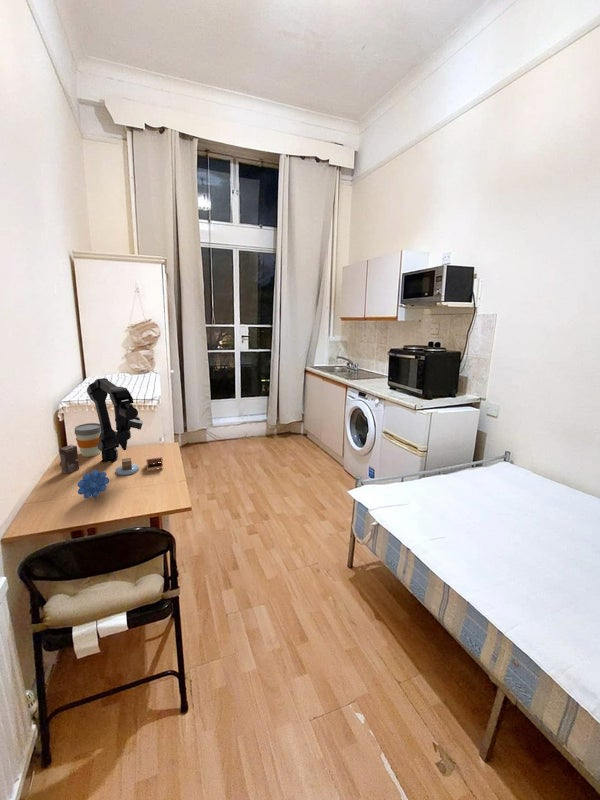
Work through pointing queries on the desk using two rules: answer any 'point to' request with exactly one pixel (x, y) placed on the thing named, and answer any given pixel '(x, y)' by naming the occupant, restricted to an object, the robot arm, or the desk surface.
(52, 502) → the desk surface
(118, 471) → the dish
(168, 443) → the desk surface
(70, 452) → the box
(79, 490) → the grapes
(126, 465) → the block
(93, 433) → the reusable coffee cup
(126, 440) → the robot arm
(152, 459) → the container
